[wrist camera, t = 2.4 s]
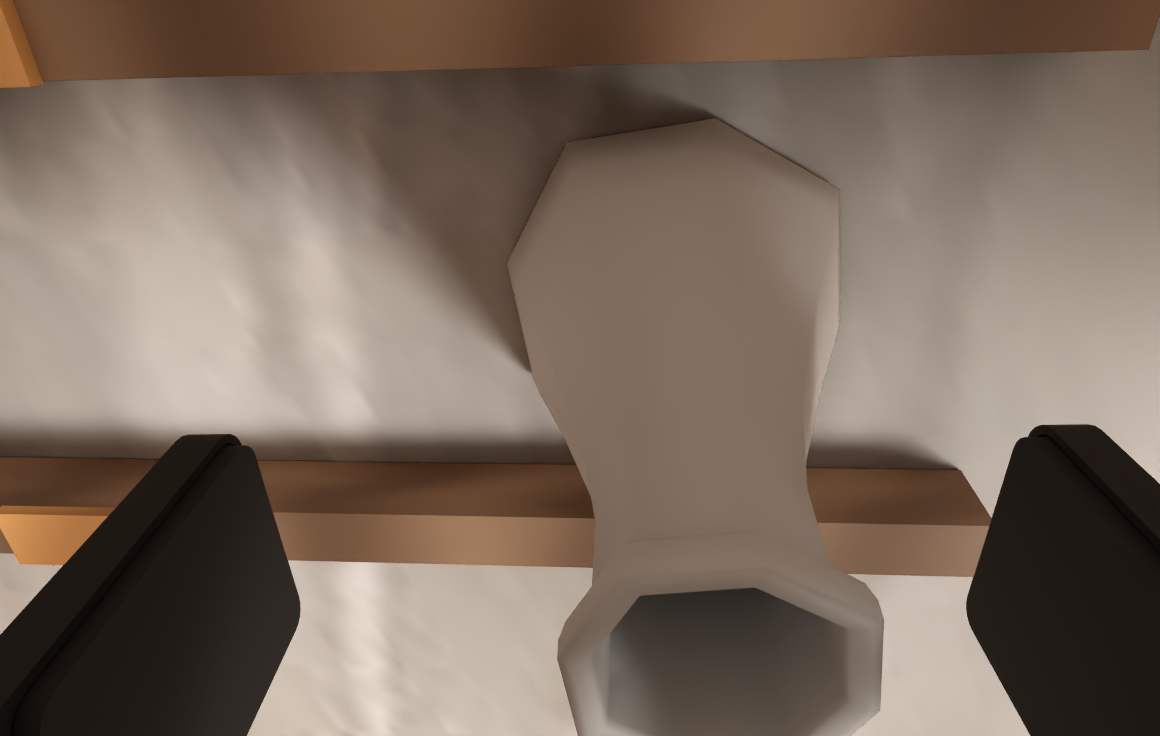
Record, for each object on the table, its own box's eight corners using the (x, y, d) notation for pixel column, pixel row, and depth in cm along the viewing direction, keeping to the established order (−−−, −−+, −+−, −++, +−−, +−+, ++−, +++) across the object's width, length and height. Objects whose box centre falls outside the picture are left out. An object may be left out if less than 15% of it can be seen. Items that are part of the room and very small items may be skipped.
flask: (528, 83, 14) (346, 284, 5) (897, 147, 14) (1330, 448, 5) (493, 399, 17) (350, 833, 9) (787, 448, 18) (938, 925, 9)
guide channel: (1106, -65, 12) (1298, -76, 9) (947, 519, 18) (1020, 651, 15) (-451, -2, 14) (-803, 9, 11) (-128, 499, 20) (-285, 609, 17)
